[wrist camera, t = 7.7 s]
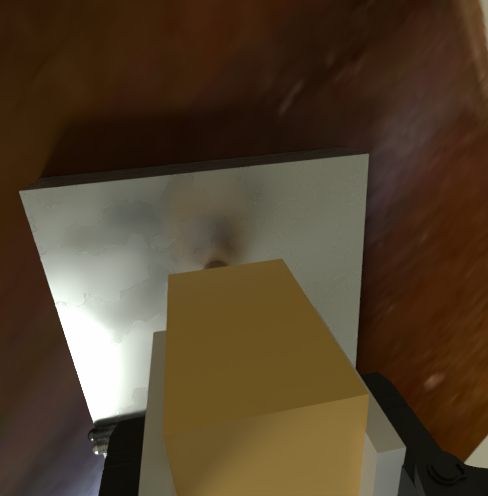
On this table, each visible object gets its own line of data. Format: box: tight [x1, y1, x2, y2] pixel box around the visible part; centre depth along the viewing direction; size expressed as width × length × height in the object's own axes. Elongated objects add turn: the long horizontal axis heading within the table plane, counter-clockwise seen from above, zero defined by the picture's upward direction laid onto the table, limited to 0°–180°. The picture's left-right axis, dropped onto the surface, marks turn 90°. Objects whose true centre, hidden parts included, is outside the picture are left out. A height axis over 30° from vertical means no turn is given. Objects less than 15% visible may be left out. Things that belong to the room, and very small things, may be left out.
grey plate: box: [19, 147, 369, 458], centre depth 21 cm, size 18×22×11 cm
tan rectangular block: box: [163, 259, 369, 496], centre depth 13 cm, size 5×5×8 cm
